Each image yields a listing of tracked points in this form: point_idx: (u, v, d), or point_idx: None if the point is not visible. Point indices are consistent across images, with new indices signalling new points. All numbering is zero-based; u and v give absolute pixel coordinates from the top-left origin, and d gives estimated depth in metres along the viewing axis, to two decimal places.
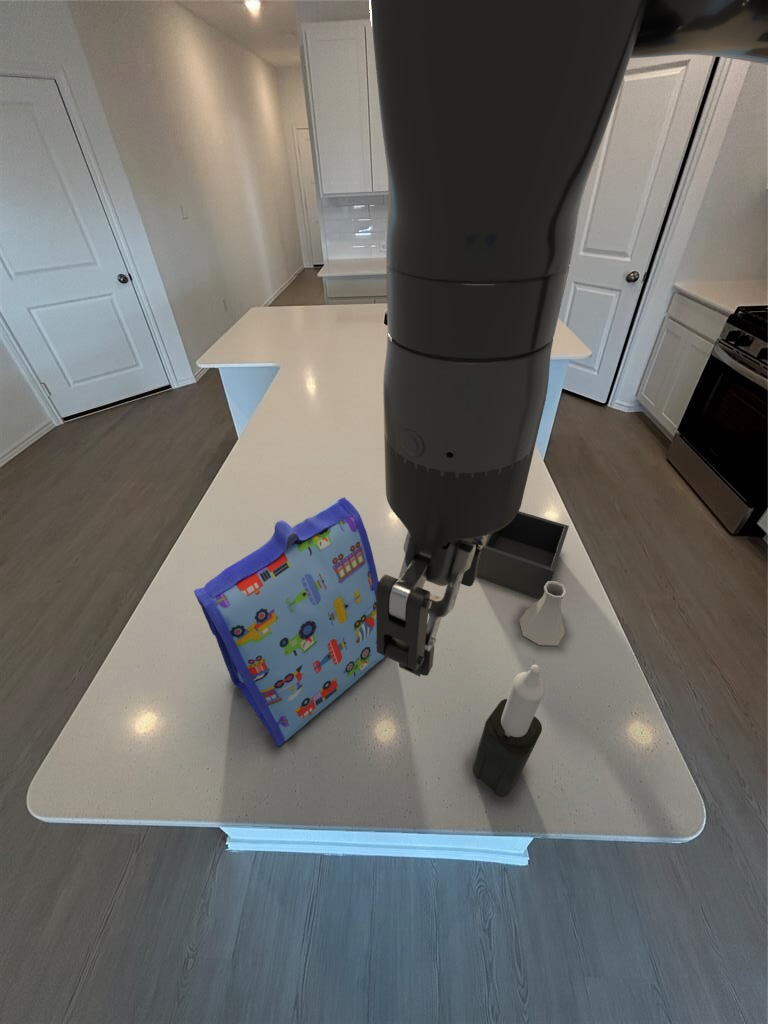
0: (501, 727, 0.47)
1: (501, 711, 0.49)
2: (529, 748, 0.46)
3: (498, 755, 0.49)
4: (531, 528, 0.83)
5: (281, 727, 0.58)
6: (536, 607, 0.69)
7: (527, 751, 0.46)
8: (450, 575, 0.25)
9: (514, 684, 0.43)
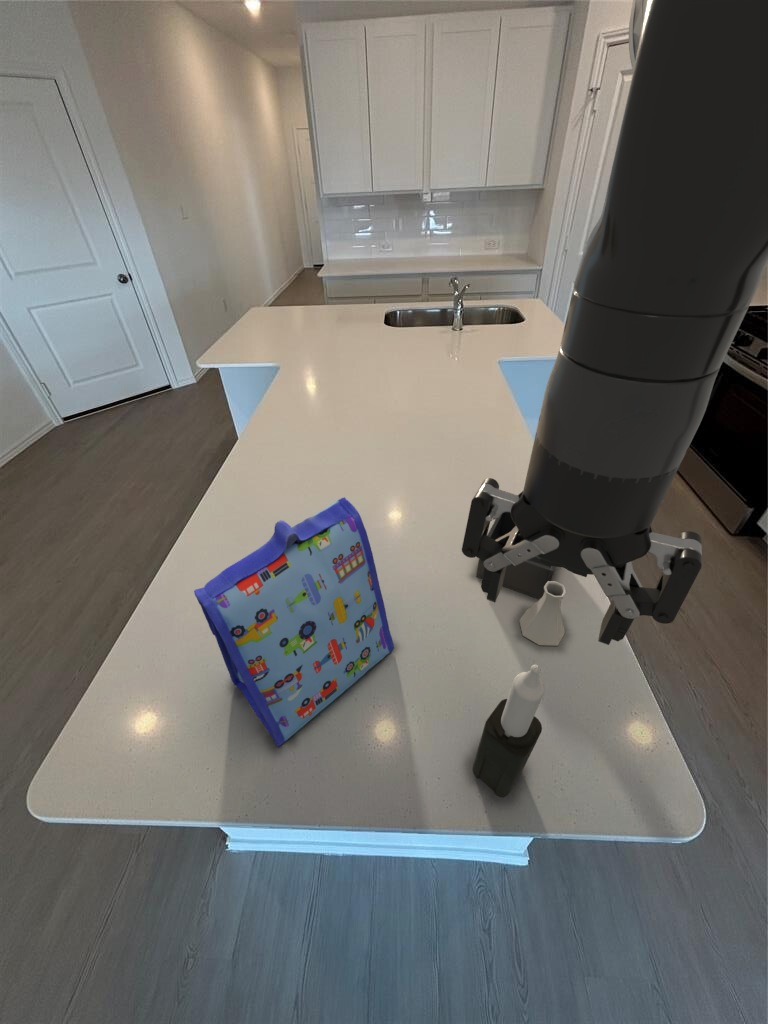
0: (501, 727, 0.47)
1: (501, 711, 0.49)
2: (529, 748, 0.46)
3: (498, 755, 0.49)
4: None
5: (281, 727, 0.58)
6: (536, 607, 0.69)
7: (527, 751, 0.46)
8: (529, 539, 0.30)
9: (514, 684, 0.43)
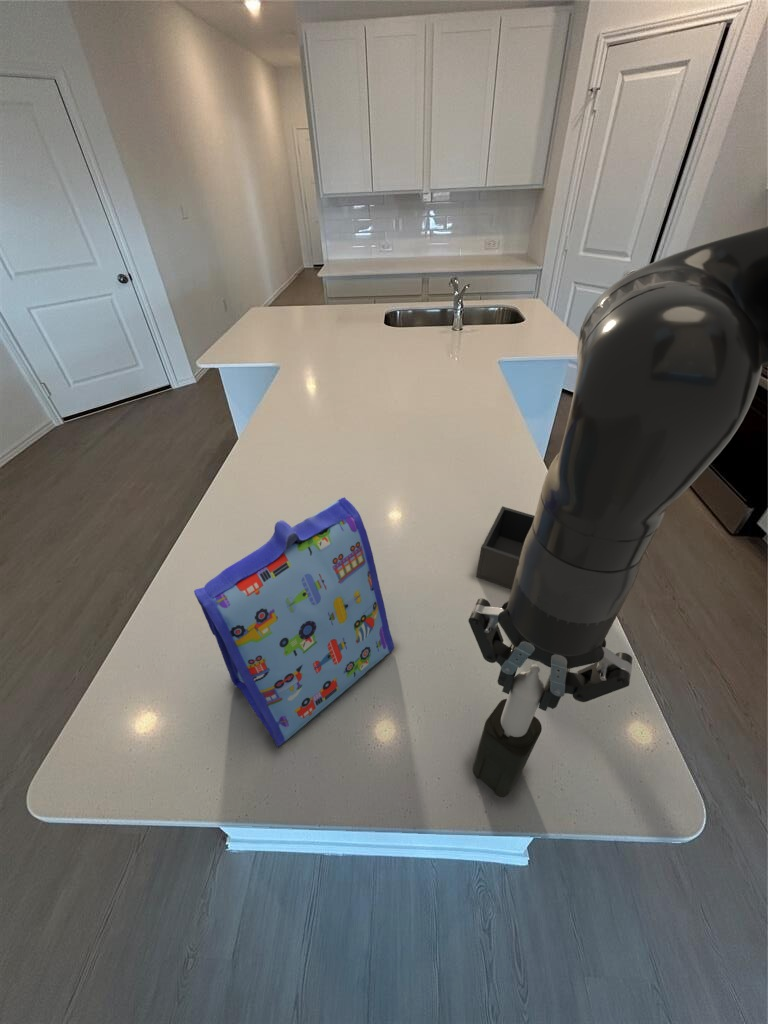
0: (501, 727, 0.47)
1: (501, 711, 0.49)
2: (529, 748, 0.46)
3: (497, 755, 0.49)
4: None
5: (281, 727, 0.58)
6: None
7: (527, 751, 0.46)
8: (512, 639, 0.38)
9: (513, 684, 0.43)
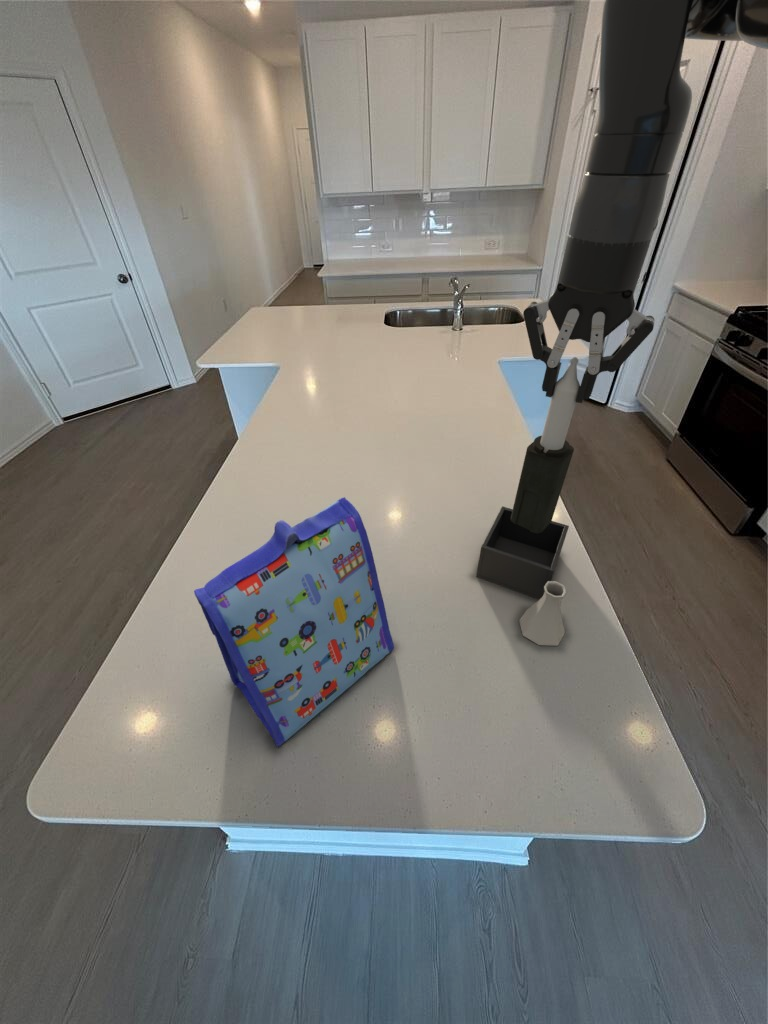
0: (541, 445, 0.58)
1: (540, 438, 0.59)
2: (564, 457, 0.57)
3: (537, 475, 0.59)
4: None
5: (281, 727, 0.58)
6: (536, 607, 0.69)
7: (563, 459, 0.56)
8: (559, 319, 0.48)
9: (555, 385, 0.53)
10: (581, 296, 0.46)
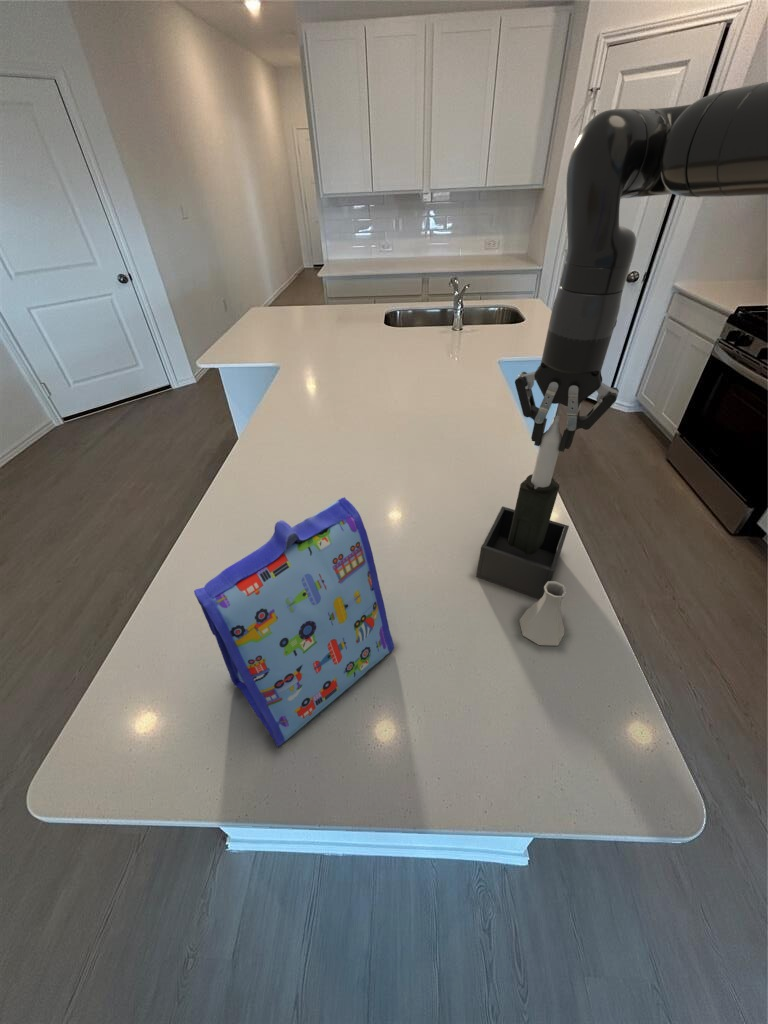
0: (531, 483, 0.70)
1: (531, 477, 0.71)
2: (551, 494, 0.69)
3: (529, 507, 0.71)
4: None
5: (281, 727, 0.58)
6: (536, 607, 0.69)
7: (550, 495, 0.68)
8: (543, 388, 0.60)
9: (542, 436, 0.65)
10: (560, 372, 0.58)
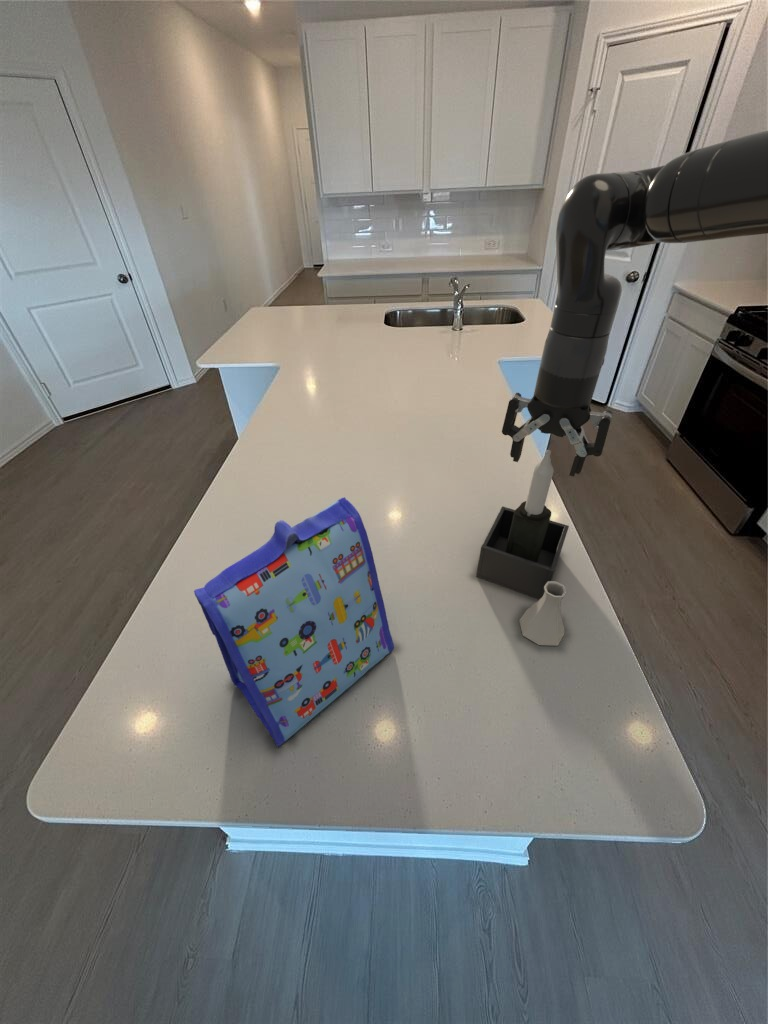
0: (525, 510, 0.73)
1: (524, 504, 0.74)
2: (543, 521, 0.72)
3: (522, 532, 0.74)
4: None
5: (281, 727, 0.58)
6: (536, 607, 0.69)
7: (542, 522, 0.72)
8: (536, 419, 0.63)
9: (534, 468, 0.68)
10: (551, 405, 0.61)
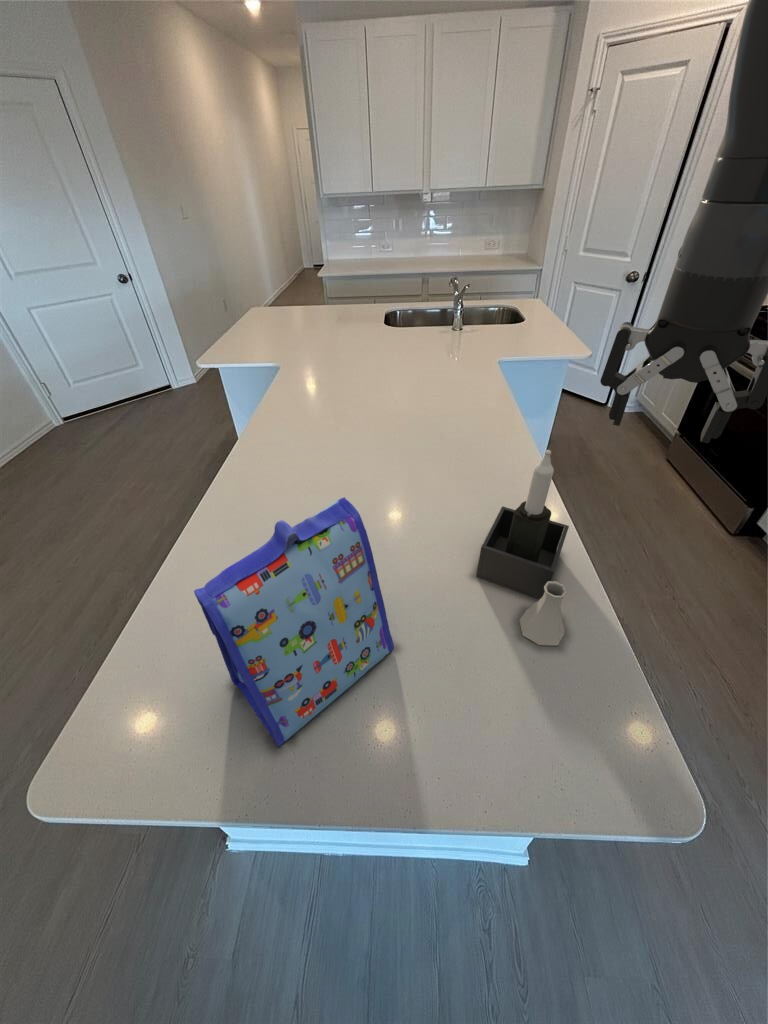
0: (525, 510, 0.73)
1: (524, 504, 0.74)
2: (543, 521, 0.72)
3: (522, 532, 0.74)
4: None
5: (281, 727, 0.58)
6: (536, 607, 0.69)
7: (542, 522, 0.72)
8: None
9: (534, 468, 0.68)
10: (687, 333, 0.41)
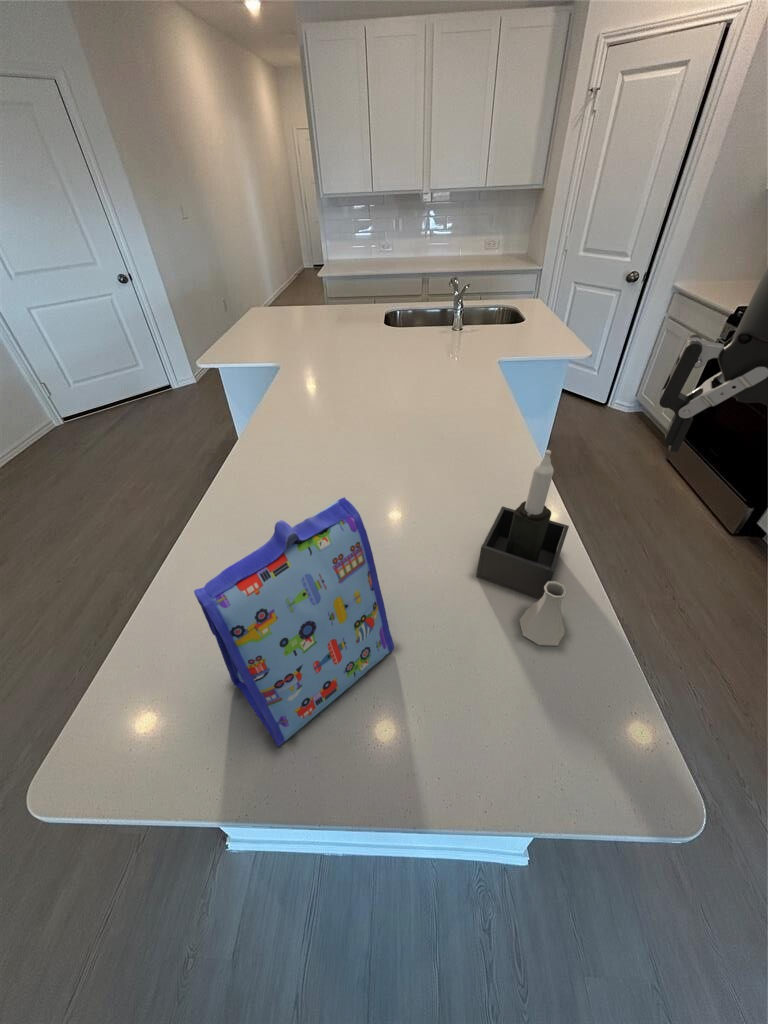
0: (525, 510, 0.73)
1: (524, 504, 0.74)
2: (543, 521, 0.72)
3: (522, 532, 0.74)
4: None
5: (281, 727, 0.58)
6: (536, 607, 0.69)
7: (542, 522, 0.72)
8: (734, 378, 0.37)
9: (534, 468, 0.68)
10: None
